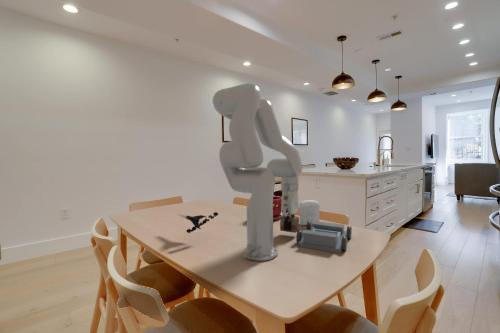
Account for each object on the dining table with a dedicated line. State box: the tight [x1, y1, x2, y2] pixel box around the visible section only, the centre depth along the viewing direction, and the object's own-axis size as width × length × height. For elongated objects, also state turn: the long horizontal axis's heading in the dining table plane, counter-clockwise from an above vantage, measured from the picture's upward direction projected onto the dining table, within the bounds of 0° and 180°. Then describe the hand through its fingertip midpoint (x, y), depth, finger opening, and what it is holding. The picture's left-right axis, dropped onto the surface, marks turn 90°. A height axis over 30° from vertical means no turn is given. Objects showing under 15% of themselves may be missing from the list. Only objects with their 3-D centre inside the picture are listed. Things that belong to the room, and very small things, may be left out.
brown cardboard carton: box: [279, 215, 300, 234], centre depth 108 cm, size 4×7×6 cm, turn 61°
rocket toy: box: [177, 211, 219, 234], centre depth 110 cm, size 14×6×23 cm
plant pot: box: [273, 195, 283, 221], centre depth 137 cm, size 13×13×12 cm
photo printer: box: [298, 199, 320, 226], centre depth 125 cm, size 10×4×12 cm, turn 98°
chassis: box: [295, 220, 353, 254], centre depth 102 cm, size 22×18×6 cm
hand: (289, 228), depth 108 cm, fingers closed on brown cardboard carton, 4 cm apart
